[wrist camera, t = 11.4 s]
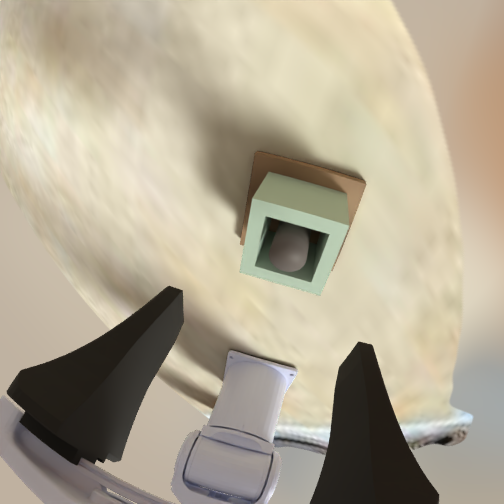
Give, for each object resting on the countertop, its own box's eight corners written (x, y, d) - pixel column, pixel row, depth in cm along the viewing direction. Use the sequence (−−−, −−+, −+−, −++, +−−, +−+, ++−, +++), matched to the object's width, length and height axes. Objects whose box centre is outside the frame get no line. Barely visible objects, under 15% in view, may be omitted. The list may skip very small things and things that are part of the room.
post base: (332, 265, 21) (328, 316, 17) (242, 240, 22) (219, 284, 18) (365, 180, 16) (375, 219, 12) (257, 150, 17) (231, 179, 13)
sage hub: (324, 256, 20) (320, 295, 17) (255, 236, 20) (239, 272, 17) (346, 193, 17) (349, 225, 14) (268, 171, 17) (252, 198, 14)
